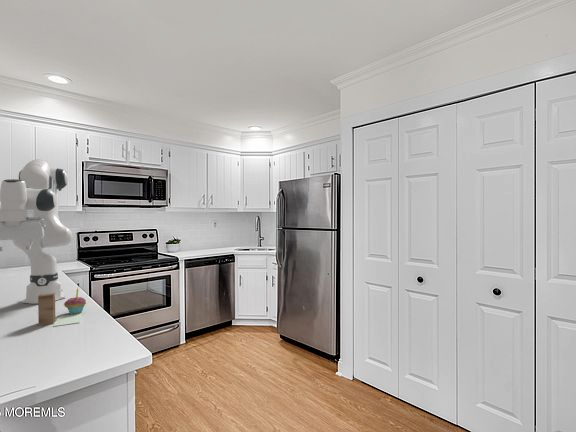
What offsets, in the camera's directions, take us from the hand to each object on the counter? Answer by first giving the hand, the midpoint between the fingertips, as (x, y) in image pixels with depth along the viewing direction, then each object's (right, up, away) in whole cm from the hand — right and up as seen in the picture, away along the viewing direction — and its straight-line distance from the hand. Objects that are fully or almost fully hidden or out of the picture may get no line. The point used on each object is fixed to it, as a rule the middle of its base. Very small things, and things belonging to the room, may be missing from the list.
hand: (14, 250), depth 137 cm
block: (+14, -30, 0) cm, 33 cm away
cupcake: (+16, -30, +14) cm, 37 cm away
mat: (+20, -30, +4) cm, 37 cm away
